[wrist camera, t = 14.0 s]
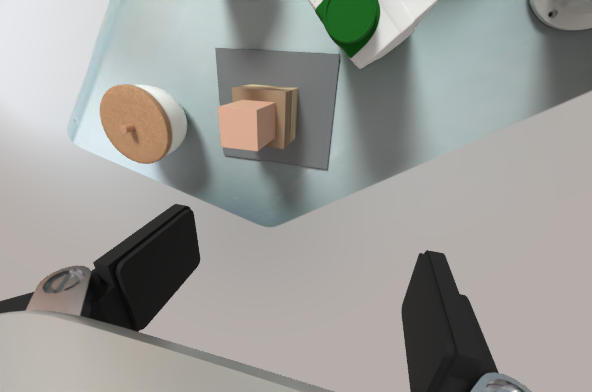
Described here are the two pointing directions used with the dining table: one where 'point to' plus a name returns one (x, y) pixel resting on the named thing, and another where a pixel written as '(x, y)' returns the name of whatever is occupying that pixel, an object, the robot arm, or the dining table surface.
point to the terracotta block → (247, 124)
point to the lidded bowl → (143, 122)
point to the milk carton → (370, 24)
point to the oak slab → (294, 106)
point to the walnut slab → (281, 109)
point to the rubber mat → (310, 104)
